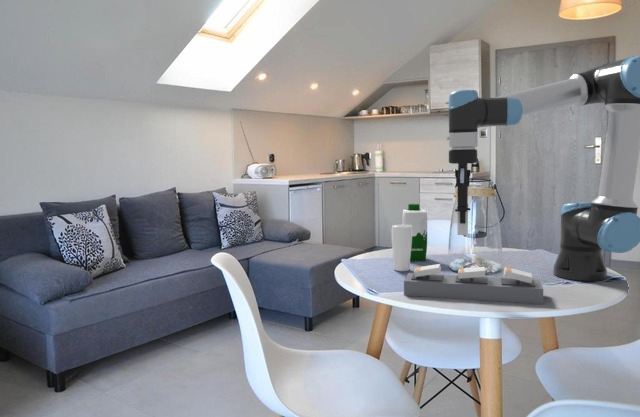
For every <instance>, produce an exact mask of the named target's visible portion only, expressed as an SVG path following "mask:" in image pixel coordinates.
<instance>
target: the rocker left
mask: <svg viewBox="0 0 640 417" xmlns="http://www.w3.org/2000/svg"><path fill="white" fill-rule="evenodd" d="M441 271H442V266H441V263H437V264H432V265H425V266H417V267H415V269H414V270H413V273H414V274H415V277H419V276H425V275H432V274H440V273H441Z"/></svg>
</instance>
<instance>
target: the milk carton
mask: <svg viewBox="0 0 640 417" xmlns="http://www.w3.org/2000/svg"><path fill="white" fill-rule="evenodd" d="M402 224H404V225H411V226H412V246H411V257H410V262H426V260H427V249H428V212H427V211H426V210H425V209H422V208H421V209H420V204H419V203H408V206H407V208H406V209H402Z"/></svg>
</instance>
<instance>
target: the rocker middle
mask: <svg viewBox="0 0 640 417" xmlns="http://www.w3.org/2000/svg"><path fill="white" fill-rule="evenodd" d="M457 274H458V277H459V279H460V278H473V277H486V267H485V266H477V267H467V268H466V267H465V268H458V272H457Z"/></svg>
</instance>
